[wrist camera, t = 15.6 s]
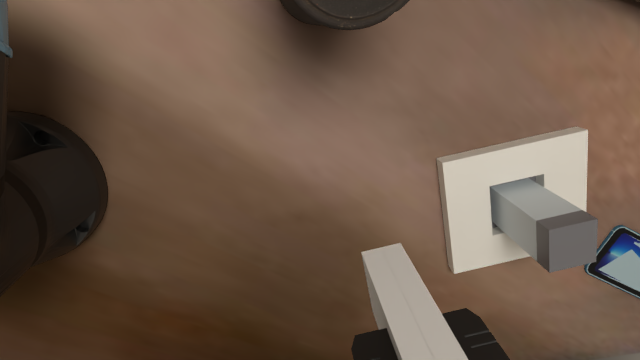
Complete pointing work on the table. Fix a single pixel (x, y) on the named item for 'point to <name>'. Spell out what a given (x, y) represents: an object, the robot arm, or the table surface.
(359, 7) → the container
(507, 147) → the socket
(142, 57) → the table surface
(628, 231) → the smartphone
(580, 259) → the plug
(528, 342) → the table surface
